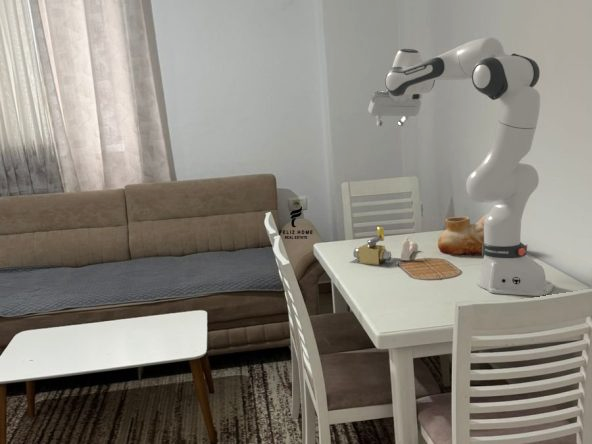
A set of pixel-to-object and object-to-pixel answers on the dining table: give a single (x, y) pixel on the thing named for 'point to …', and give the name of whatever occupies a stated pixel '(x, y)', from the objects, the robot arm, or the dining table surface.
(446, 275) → the dining table surface
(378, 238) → the valve lever
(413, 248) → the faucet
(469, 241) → the ceramic vessel
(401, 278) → the dining table surface
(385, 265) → the valve base plate
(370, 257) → the valve body
